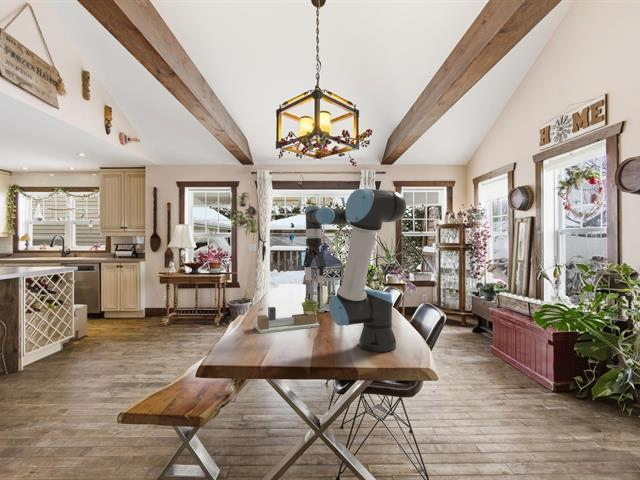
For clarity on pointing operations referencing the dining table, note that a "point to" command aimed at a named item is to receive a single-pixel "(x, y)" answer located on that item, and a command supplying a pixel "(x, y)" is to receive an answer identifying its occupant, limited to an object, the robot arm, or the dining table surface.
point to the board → (300, 322)
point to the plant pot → (309, 306)
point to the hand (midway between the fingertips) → (314, 281)
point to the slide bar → (278, 321)
